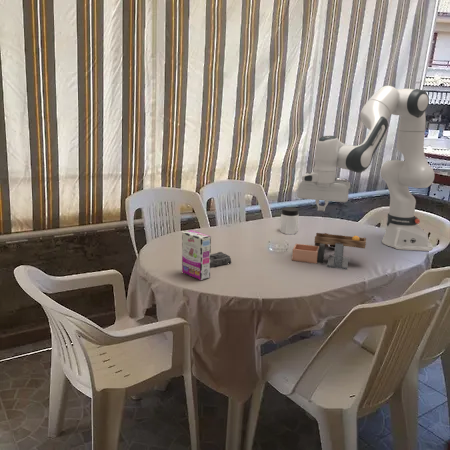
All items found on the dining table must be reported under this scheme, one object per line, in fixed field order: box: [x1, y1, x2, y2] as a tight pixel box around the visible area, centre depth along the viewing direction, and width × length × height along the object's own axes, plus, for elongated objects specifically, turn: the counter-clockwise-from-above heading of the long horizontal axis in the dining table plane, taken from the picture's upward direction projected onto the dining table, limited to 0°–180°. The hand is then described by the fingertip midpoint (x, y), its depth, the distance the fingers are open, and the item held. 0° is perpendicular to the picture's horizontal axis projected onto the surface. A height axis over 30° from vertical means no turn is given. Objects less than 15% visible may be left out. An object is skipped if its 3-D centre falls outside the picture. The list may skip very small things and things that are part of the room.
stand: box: [317, 243, 350, 270], centre depth 191 cm, size 12×13×10 cm
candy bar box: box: [181, 229, 212, 281], centre depth 173 cm, size 11×5×16 cm, turn 45°
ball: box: [351, 235, 360, 241], centre depth 187 cm, size 3×3×3 cm
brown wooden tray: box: [314, 232, 367, 249], centre depth 190 cm, size 20×9×3 cm, turn 73°
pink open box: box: [291, 243, 319, 264], centre depth 195 cm, size 10×8×5 cm
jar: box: [279, 206, 300, 235], centre depth 233 cm, size 9×8×12 cm
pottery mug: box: [314, 232, 335, 249], centre depth 210 cm, size 12×10×8 cm
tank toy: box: [210, 251, 232, 268], centre depth 188 cm, size 12×10×5 cm
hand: (321, 210), depth 189 cm, fingers closed
